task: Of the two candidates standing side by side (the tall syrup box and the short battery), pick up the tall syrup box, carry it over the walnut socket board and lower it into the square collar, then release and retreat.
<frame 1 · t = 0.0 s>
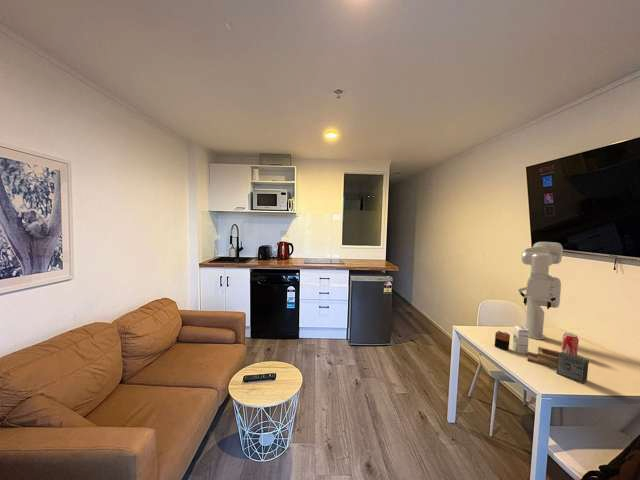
hand: (536, 306, 150), 31 cm above the table, fingers open, 9 cm apart
small box: (571, 377, 137), on the table
socket: (550, 363, 150), on the table
syrup box: (519, 351, 163), on the table
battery: (501, 348, 167), on the table
soda can: (569, 354, 161), on the table
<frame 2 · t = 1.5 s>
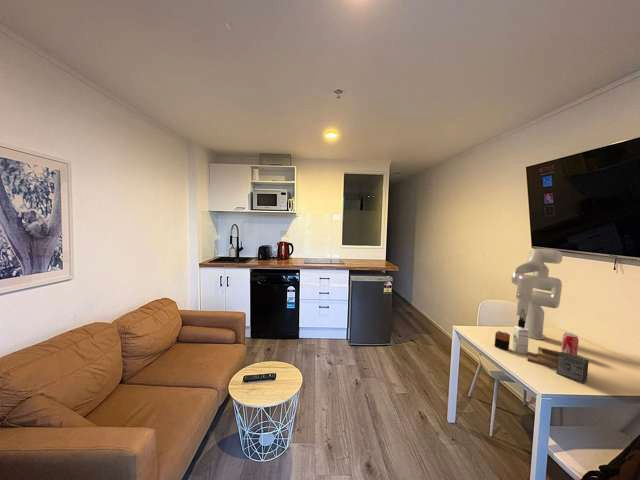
hand: (521, 324, 162), 17 cm above the table, fingers open, 9 cm apart
nothing on the table moved.
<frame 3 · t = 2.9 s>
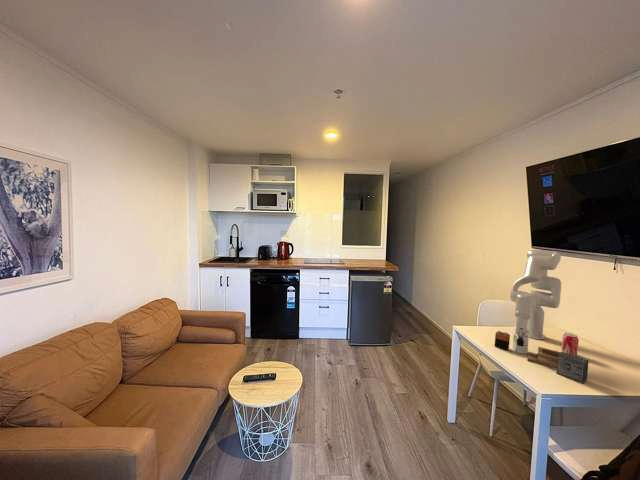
hand: (520, 343, 163), 5 cm above the table, fingers closed on syrup box, 7 cm apart
syrup box: (519, 351, 163), on the table, touching gripper
everything else where it was.
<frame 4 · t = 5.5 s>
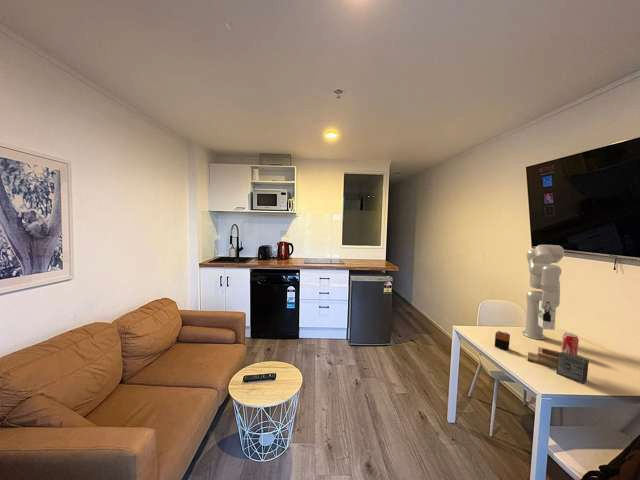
hand: (546, 319, 151), 24 cm above the table, fingers closed on syrup box, 7 cm apart
syrup box: (545, 328, 151), point 19 cm above the table, touching gripper
everything else where it was.
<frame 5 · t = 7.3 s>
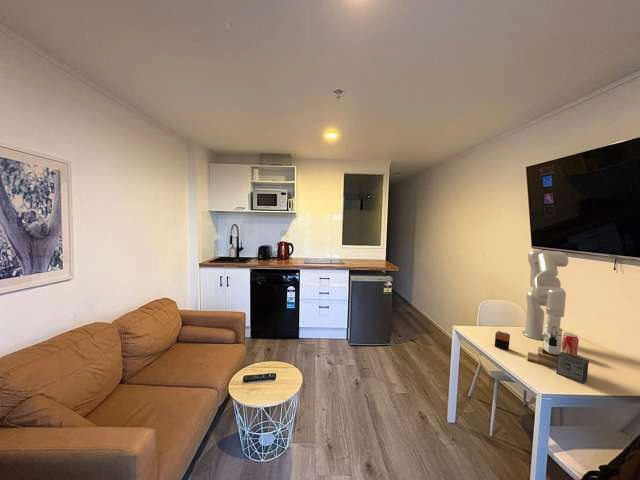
hand: (552, 343, 149), 12 cm above the table, fingers closed on syrup box, 7 cm apart
syrup box: (551, 352, 149), point 6 cm above the table, touching gripper
everything else where it was.
when the fingers open (8 cm above the table, at t = 8.5 s): syrup box drops 2 cm, resting on socket.
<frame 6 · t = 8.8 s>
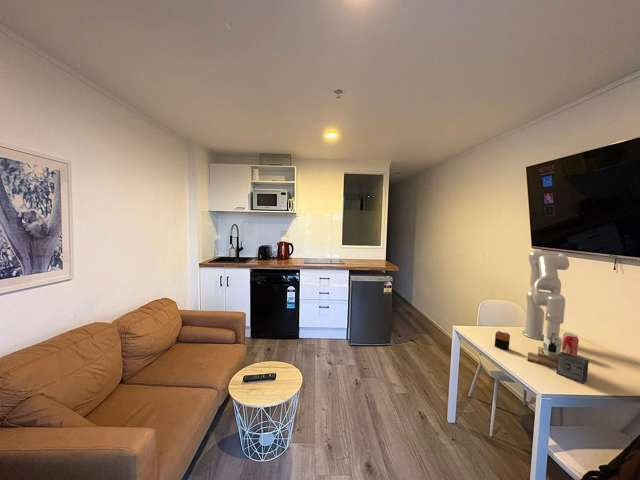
hand: (551, 348, 149), 8 cm above the table, fingers open, 9 cm apart
syrup box: (550, 361, 150), point 1 cm above the table, touching socket
everything else where it was.
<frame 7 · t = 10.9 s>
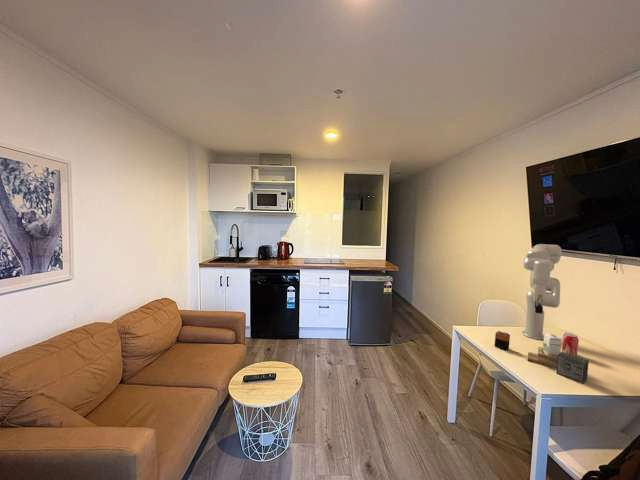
hand: (538, 310, 158), 27 cm above the table, fingers open, 9 cm apart
nothing on the table moved.
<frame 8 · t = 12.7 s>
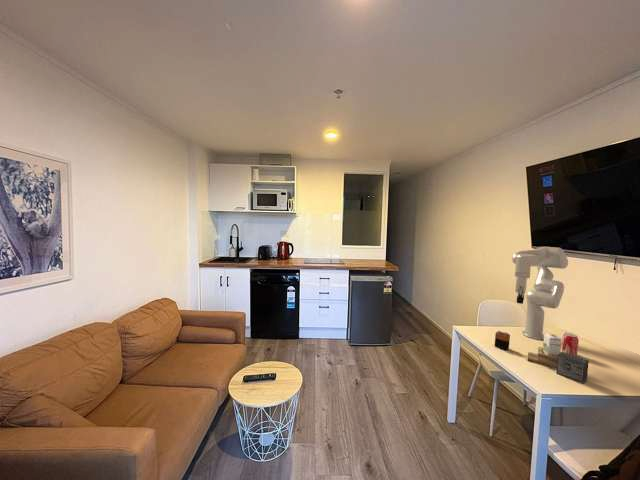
hand: (520, 301, 169), 28 cm above the table, fingers open, 9 cm apart
nothing on the table moved.
at the end: syrup box 0.0 cm off-centre on the socket, point 1.0 cm above the socket's base; syrup box tilted 0°; the gripper is holding nothing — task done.
